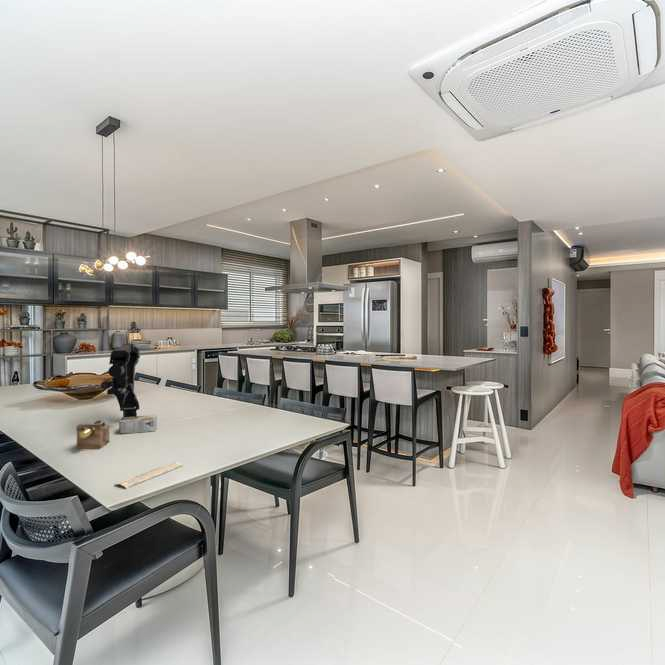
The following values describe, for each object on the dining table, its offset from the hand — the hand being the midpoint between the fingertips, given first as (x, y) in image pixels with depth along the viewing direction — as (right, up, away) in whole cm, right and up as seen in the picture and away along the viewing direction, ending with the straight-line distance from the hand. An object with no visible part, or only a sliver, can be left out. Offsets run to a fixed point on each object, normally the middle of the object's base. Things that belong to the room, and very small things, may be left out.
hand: (121, 405), depth 203 cm
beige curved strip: (+42, -14, -61) cm, 75 cm away
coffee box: (+17, -9, +1) cm, 19 cm away
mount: (+2, -13, -27) cm, 30 cm away
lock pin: (+2, -7, -28) cm, 30 cm away
